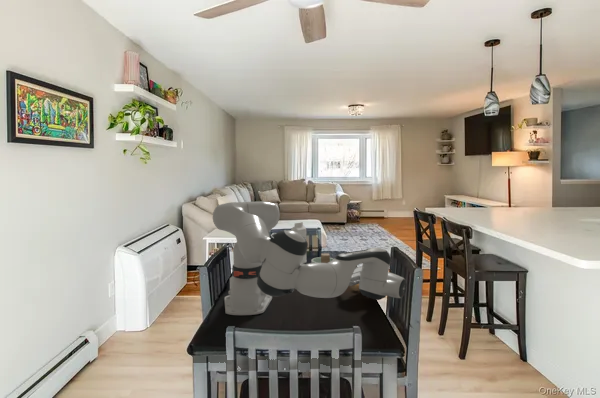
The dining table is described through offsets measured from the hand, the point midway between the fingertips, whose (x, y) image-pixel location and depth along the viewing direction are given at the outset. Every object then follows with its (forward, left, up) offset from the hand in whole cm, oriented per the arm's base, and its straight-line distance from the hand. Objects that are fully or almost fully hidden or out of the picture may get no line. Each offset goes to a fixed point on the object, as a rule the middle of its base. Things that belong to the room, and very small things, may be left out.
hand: (344, 270), depth 155 cm
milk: (+40, +18, -8) cm, 45 cm away
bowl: (+26, +6, -7) cm, 28 cm away
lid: (+9, +7, -7) cm, 14 cm away
